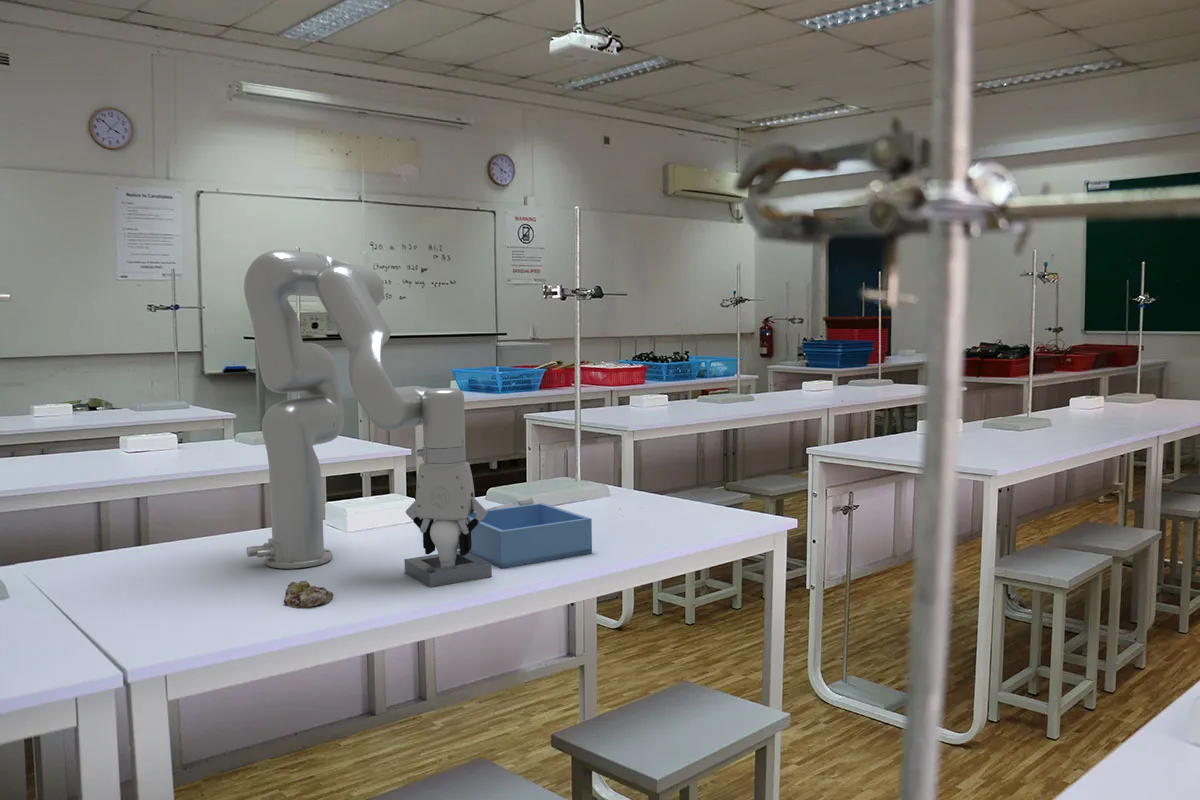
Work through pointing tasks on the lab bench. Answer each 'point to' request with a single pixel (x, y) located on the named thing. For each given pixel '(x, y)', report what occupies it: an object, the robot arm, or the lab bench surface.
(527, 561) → the bin
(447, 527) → the lightbulb
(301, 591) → the mineral rock
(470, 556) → the socket block
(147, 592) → the lab bench surface
